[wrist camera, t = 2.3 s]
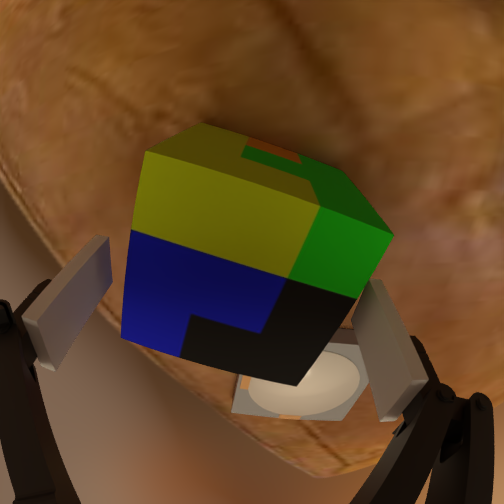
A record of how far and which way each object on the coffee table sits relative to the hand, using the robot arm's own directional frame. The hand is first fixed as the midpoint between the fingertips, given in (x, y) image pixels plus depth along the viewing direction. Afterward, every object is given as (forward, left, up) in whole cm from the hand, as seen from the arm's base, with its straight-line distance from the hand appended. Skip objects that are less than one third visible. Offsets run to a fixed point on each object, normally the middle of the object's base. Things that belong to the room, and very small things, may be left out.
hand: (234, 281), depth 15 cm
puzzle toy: (0, 0, -8) cm, 8 cm away
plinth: (+16, +8, -8) cm, 19 cm away
